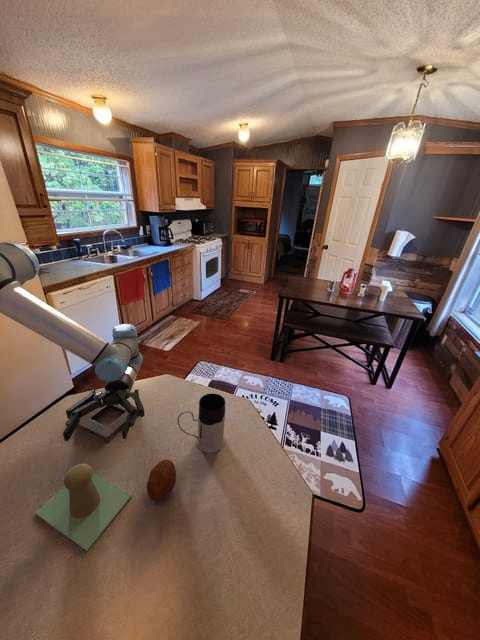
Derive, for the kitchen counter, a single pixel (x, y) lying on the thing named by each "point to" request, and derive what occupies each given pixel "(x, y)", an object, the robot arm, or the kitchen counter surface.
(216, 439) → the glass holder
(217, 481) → the kitchen counter surface
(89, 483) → the cork
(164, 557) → the kitchen counter surface
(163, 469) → the potato
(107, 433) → the frame
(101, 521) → the mat
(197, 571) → the kitchen counter surface
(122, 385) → the robot arm
